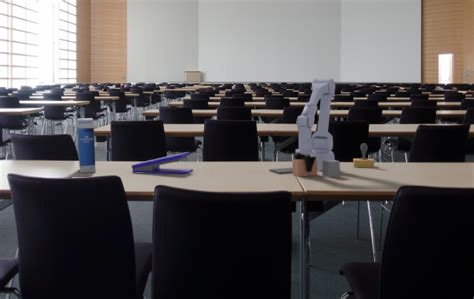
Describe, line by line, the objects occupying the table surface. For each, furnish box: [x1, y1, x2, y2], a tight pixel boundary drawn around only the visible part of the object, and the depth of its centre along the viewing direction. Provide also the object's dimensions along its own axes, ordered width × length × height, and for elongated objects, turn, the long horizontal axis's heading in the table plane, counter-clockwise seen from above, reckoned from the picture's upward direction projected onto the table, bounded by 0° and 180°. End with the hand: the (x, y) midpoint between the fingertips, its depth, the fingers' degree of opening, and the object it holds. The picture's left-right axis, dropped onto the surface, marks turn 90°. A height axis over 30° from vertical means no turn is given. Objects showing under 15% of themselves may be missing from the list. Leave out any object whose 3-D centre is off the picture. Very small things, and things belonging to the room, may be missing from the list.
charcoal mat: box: [269, 167, 292, 175], centre depth 255 cm, size 12×10×1 cm
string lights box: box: [76, 117, 97, 174], centre depth 262 cm, size 13×8×26 cm, turn 18°
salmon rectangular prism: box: [291, 159, 318, 177], centre depth 245 cm, size 10×6×7 cm, turn 112°
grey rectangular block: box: [321, 159, 341, 178], centre depth 241 cm, size 6×6×7 cm
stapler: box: [131, 151, 194, 175], centre depth 258 cm, size 12×28×10 cm, turn 76°
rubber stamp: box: [352, 143, 375, 168], centre depth 268 cm, size 10×6×12 cm, turn 79°
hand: (304, 170), depth 245 cm, fingers open, 7 cm apart
